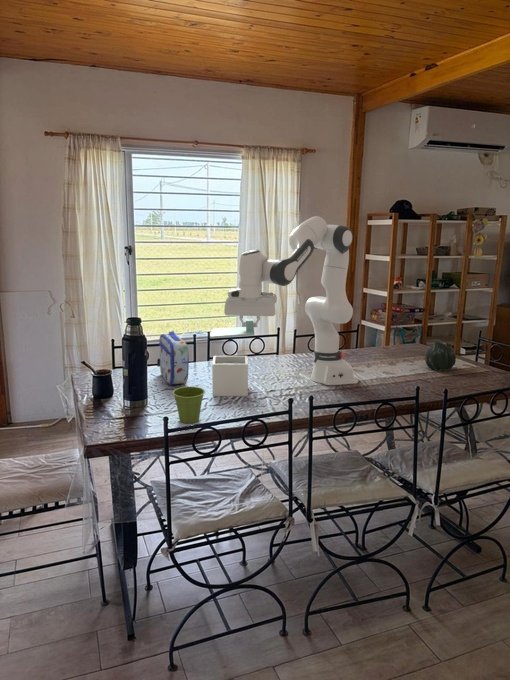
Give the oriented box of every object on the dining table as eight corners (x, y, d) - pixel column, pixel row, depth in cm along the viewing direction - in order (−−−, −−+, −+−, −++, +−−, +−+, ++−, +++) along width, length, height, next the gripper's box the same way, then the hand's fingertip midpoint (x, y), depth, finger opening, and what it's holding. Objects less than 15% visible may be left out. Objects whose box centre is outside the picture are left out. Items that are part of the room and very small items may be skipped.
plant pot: (167, 423, 185) (166, 394, 182) (183, 412, 195) (182, 385, 193) (196, 428, 181) (195, 398, 178) (210, 416, 191) (210, 388, 189)
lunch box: (156, 372, 248) (154, 328, 243) (176, 370, 251) (175, 327, 247) (169, 389, 223) (167, 340, 218) (191, 386, 227) (190, 339, 222)
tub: (246, 385, 229) (247, 355, 226) (247, 395, 215) (247, 364, 212) (213, 385, 228) (213, 355, 225) (212, 396, 215) (212, 364, 211)
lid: (253, 328, 208) (252, 316, 207) (254, 335, 193) (253, 323, 192) (212, 330, 207) (211, 319, 206) (210, 338, 193) (209, 326, 192)
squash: (466, 361, 253) (450, 335, 259) (448, 366, 245) (432, 340, 250) (446, 373, 264) (432, 349, 269) (428, 379, 256) (413, 354, 261)
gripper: (276, 291, 200) (275, 325, 203) (224, 290, 200) (224, 325, 203) (277, 293, 194) (276, 328, 197) (224, 292, 193) (224, 328, 196)
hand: (249, 326), depth 200 cm, fingers closed on lid, 3 cm apart
